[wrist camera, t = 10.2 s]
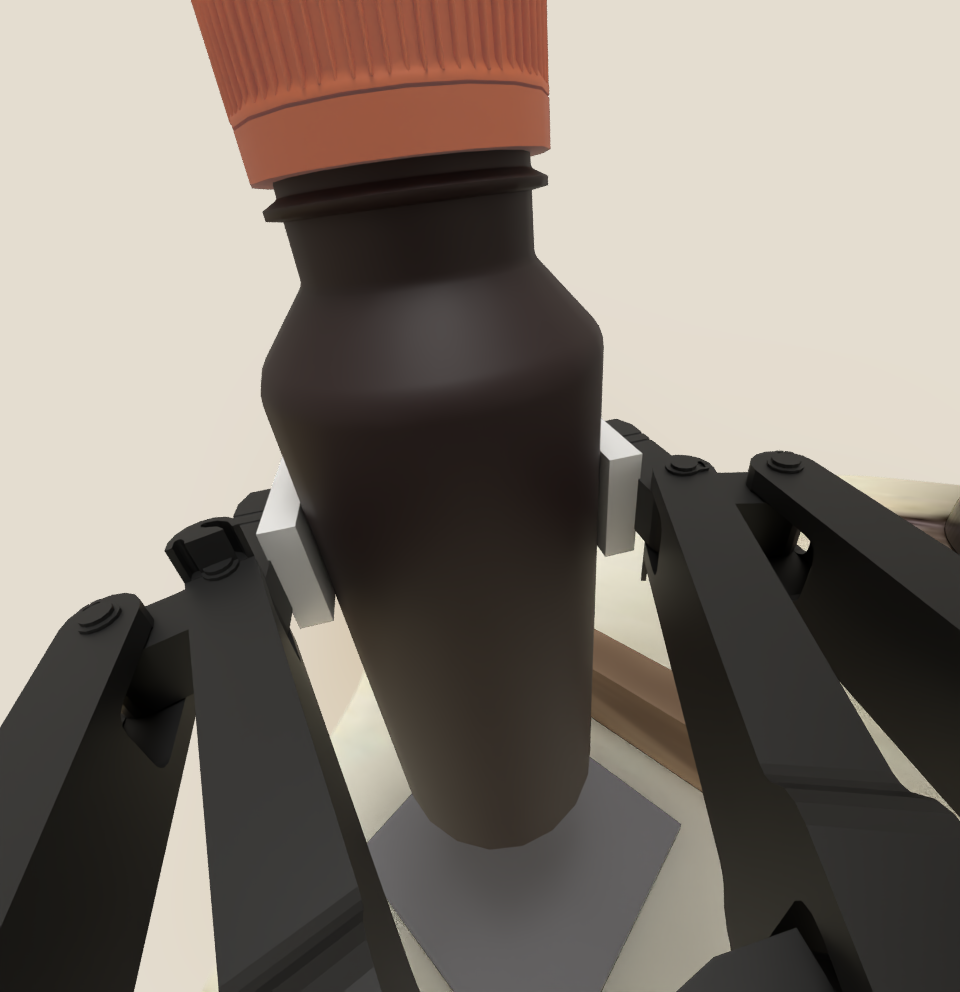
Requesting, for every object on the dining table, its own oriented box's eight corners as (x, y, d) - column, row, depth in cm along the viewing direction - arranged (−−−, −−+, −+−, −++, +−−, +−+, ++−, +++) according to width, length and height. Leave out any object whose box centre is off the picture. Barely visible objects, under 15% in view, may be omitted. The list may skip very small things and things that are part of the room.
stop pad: (504, 698, 29) (503, 692, 29) (679, 829, 22) (681, 823, 22) (359, 860, 23) (355, 855, 22) (542, 1113, 16) (541, 1111, 15)
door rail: (488, 612, 35) (482, 568, 32) (841, 828, 21) (874, 780, 19) (466, 632, 34) (458, 587, 31) (828, 877, 20) (863, 831, 18)
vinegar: (624, 732, 17) (707, -56, 7) (512, 912, 13) (254, -344, 3) (488, 645, 21) (402, 71, 11) (371, 762, 17) (44, 35, 7)
